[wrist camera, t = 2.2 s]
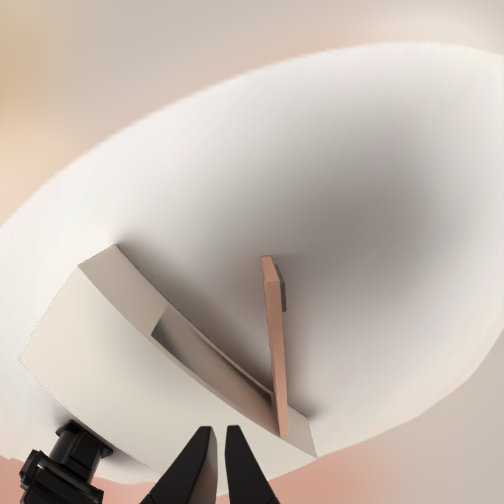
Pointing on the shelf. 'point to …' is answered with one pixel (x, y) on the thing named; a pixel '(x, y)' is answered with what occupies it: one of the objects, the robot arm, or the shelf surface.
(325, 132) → the shelf surface
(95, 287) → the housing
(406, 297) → the shelf surface
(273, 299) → the side door
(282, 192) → the shelf surface
